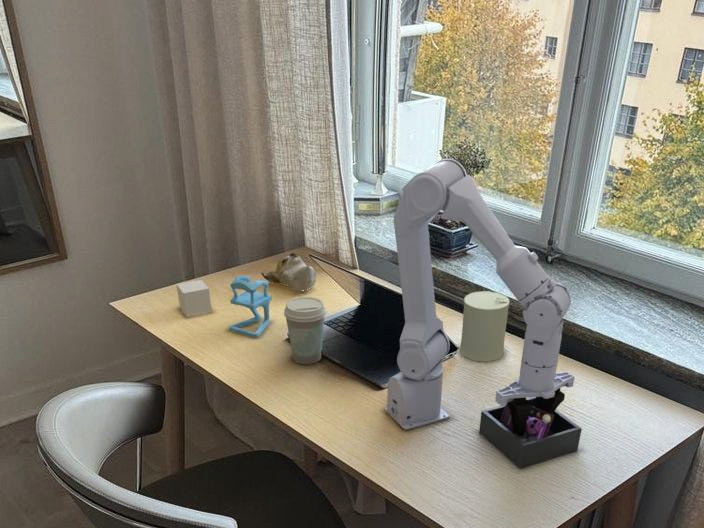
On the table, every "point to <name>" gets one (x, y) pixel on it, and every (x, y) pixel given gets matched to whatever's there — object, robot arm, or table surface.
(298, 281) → the ceramic sculpture
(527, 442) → the tub
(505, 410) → the purple toy package
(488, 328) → the can
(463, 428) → the table surface
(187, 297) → the grey cube
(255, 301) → the chair
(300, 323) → the coffee cup
